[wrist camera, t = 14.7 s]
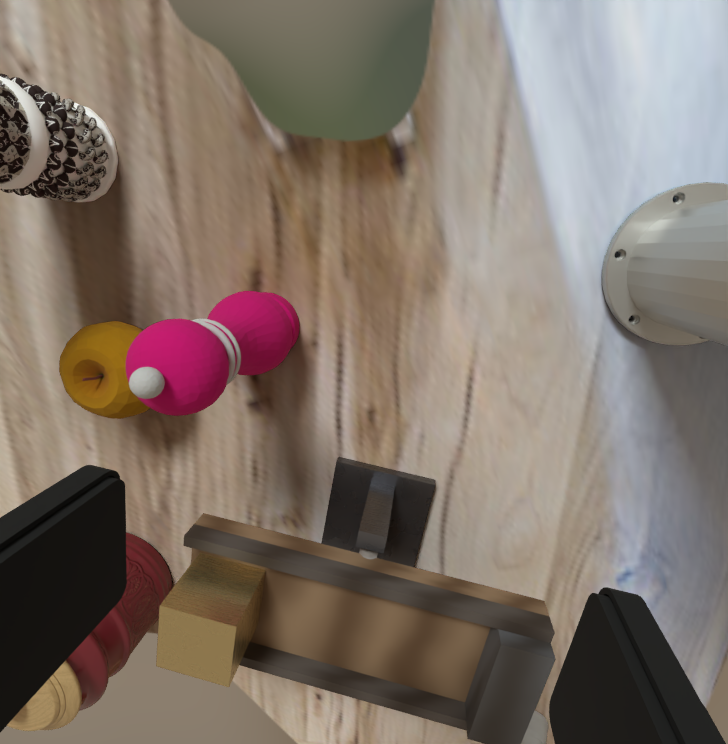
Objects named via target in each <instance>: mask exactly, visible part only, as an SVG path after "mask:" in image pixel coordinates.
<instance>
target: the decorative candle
mask: <svg viewBox="0 0 728 744" xmlns="http://www.w3.org/2000/svg"><path fill="white" fill-rule="evenodd" d="M117 166H118V155H117V149H116V144H115V139H114V138H113V136H112V134H111V132H110V130H109V128H108V126H107V125H106V123H105V121H103V120H102V119H101V118H100V117H99V116H98V115H97V114H96V113H95V112H94V111H93V110H91V109H90V108H87V107H85V106H82V105H79V104H77V103H74V102H73V100H71V99H64V100H63V102H62V103H61V102H60V96H59V95H58V94H57V93H55V92H52V93H51V94H50V93H48V92H45V91H43V90H42V89H41V88H40V87H39V86H37V85H29V84H26V83H25V81H23V80H22V79H20V78H17V77H13V78H11V79H10V78H9V77H8V76H7V75H5V74H0V189H1V190H2V191H4V192H7V193H12V192H15V193H16V194H17V195H21V196H24V195H28V194H30V193H31V195H32V196H34V197H38V198H40V197H42V198H49V199H51V200H64V201H67V202H90V201H95V200H96V199H98V198H100V197H101V196H103V195H104V194H106V193H107V192H108V190H109V188H110V187H111V185H112V183H113V182H114V180H115V179H116V172H117Z"/></svg>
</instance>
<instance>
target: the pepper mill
mask: <svg viewBox="0 0 728 744" xmlns="http://www.w3.org/2000/svg"><path fill="white" fill-rule="evenodd" d="M298 335H299V320H298V316H297V314H296V312H295V310H294V308H293V307H292V305H291V304H290V303H289V302H288V301H287V300H286V299H284V298H283V297H281V296H279V295H277V294H274V293H267V292H263V293H259V292H255V291H243V292H238V293H235V294H233V295H230V296H228V297H226V298H225V299H223V300H222V301H220V302H219V303H218V304H217V305H216V306H215V307H214V309H213V310H212V311H211V312H210V314H209V316H208V318H207V319H195V320H191V321H190V320H186V319H167V320H163V321H160V322H157V323H155V324H153V325H151V326H149V327H147V328H146V329H145V330H143V331H142V332H140V333H139V335H138V336H137V337H136V338H135V339H134V340H133V342H132V344H131V345H130V347H129V350H128V352H127V356H126V375H127V379H128V382H129V387H130V390H131V391H132V392H133V393H134V394H135V395H136V396H137V397H138V399H139V400H140V401H142V402H143V403H144V404H145V405H146V406H148V407H150V408H151V409H153V410H155V411H157V412H160V413H163V414H166V415H174V416H179V415H189V414H193V413H197V412H199V411H201V410H203V409H205V408H207V407H208V406H210V405H212V404H213V403H214V402H215V401H216V400H217V399H218V398H219V396H220V395H221V394H222V393H223V391H224V389H225V387H226V385H227V384H229V383H230V382H231V381H232V380H233V379H234V378H235V376H236V375H237V374H239V375H258V374H262V373H265V372H267V371H269V370H271V369H273V368H275V367H277V366H278V365H279V364H280V363H281V362H282V361H283V360H284V359H285V357H286V356H287V354H288V352H289V350H290V349H291V348H292V347H293V346H294V344H295V343H296V340H297V338H298Z"/></svg>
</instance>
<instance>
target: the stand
mask: <svg viewBox="0 0 728 744" xmlns="http://www.w3.org/2000/svg"><path fill="white" fill-rule="evenodd" d="M434 488H435V480H433V479H429V478H425V477H421V476H417V475H412V474H408V473H404V472H400V471H396V470H391V469H387V468H383V467H379V466H375V465H370V464H366V463H362V462H358V461H354V460H349V459H345V458H341V457H338V459H337V462H336V467H335V473H334V478H333V484H332V489H331V495H330V500H329V505H328V511H327V516H326V522H325V527H324V533H323V538H322V543H321V544H325V545H329V546H333V547H336V548H340V549H344V550H348V551H352V552H356V553H359V551H360V548H363V549H367V550H371V551H374V552H378V555H377V558H379V559H383V560H387V561H391V562H395V563H399V564H402V565H406V566H410V567H414V564H415V560H416V556H417V553H418V549H419V545H420V541H421V537H422V534H423V530H424V526H425V522H426V518H427V515H428V511H429V507H430V503H431V499H432V495H433V492H434Z"/></svg>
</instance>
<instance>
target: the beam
mask: <svg viewBox="0 0 728 744" xmlns="http://www.w3.org/2000/svg"><path fill="white" fill-rule="evenodd" d="M184 546H187V547H190V548H192V559H191V564H192V562H193V561H194V560H195V558H196V557H197V556H198V554H199V553H204V554H207V555H211V556H215V557H219V558H222V559H226V560H230V561H234V562H238V563H241V564H245V565H249V566H253V567H257V568H260V569H264V570H266V571H265V578H264V586H263V593H262V600H261V607H260V614H259V621H258V625H257V628H256V630H255V632H254V634H253V636H252V638H251V641H250V643H249V645H248V647H247V649H246V651H245V654H244V656H243V658H242V660H241V662H240V664H239V665H241V666H245V667H248V668H252V669H255V670H258V671H262V672H265V673H269V674H272V675H276V676H279V677H283V678H286V679H290V680H293V681H297V682H300V683H304V684H307V685H311V686H314V687H318V688H321V689H325V690H328V691H332V692H335V693H338V694H342V695H345V696H349V697H352V698H356V699H359V700H363V701H366V702H370V703H373V704H377V705H380V706H384V707H387V708H391V709H394V710H398V711H401V712H405V713H408V714H412V715H415V716H418V717H422V718H425V719H429V720H432V721H436V722H439V723H443V724H446V725H450V726H453V727H457V728H460V729H464V730H467V736H468V739H471V740H474V741H478V742H481V743H485V744H521V743H522V740H523V738H524V735H525V733H526V730H527V728H528V725H529V723H530V721H531V718H532V716H533V713H534V711H535V708H536V706H537V703H538V701H539V698H540V696H541V694H542V691H543V689H544V686H545V684H546V681H547V679H548V676H549V674H550V671H551V669H552V667H553V664H554V662H555V656H554V653H553V649H552V646H551V641H552V638H553V636H554V630H553V627H552V623H551V620H550V617H549V614H548V611H547V608H546V605H545V601H542V600H538V599H535V598H531V597H527V596H523V595H519V594H515V593H511V592H507V591H503V590H500V589H496V588H492V587H488V586H484V585H480V584H476V583H472V582H468V581H465V580H461V579H457V578H453V577H449V576H445V575H441V574H437V573H434V572H430V571H426V570H422V569H418V568H414V567H410V566H406V565H402V564H399V563H395V562H391V561H387V560H383V559H379V558H377V555H378V552H374V551H371V550H367V549H363V548H360V551H359V553H356V552H352V551H348V550H344V549H340V548H336V547H333V546H329V545H325V544H321V543H317V542H313V541H309V540H305V539H301V538H298V537H294V536H290V535H286V534H282V533H278V532H274V531H270V530H266V529H263V528H259V527H255V526H251V525H247V524H243V523H239V522H235V521H232V520H228V519H224V518H220V517H216V516H212V515H208V514H204V513H203V514H202V516H201V517H200V518H199V519H198V520H197V521H196V523H195V524H194V525H193V526H192V527H191V528H190V530H189V531H188V532H187V533H186V534H185V535H184Z"/></svg>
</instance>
